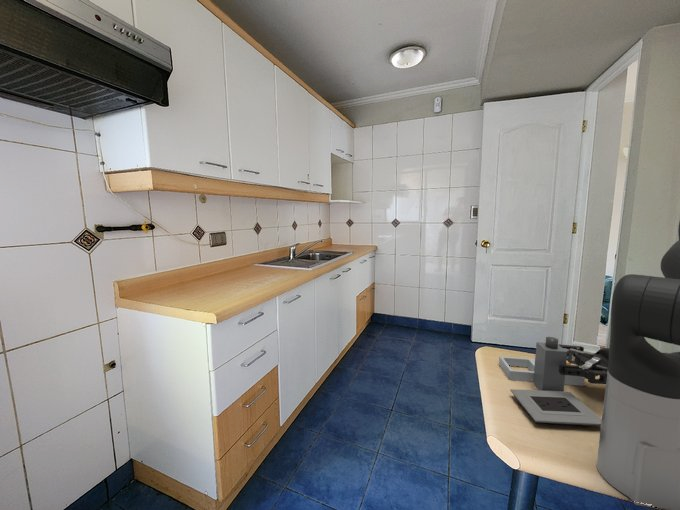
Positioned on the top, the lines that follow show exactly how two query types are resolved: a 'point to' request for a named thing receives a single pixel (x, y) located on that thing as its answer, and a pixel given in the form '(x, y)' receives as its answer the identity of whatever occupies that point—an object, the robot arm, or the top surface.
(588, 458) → the top surface
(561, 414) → the electrical outlet
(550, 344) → the plug
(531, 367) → the grey rectangular frame
